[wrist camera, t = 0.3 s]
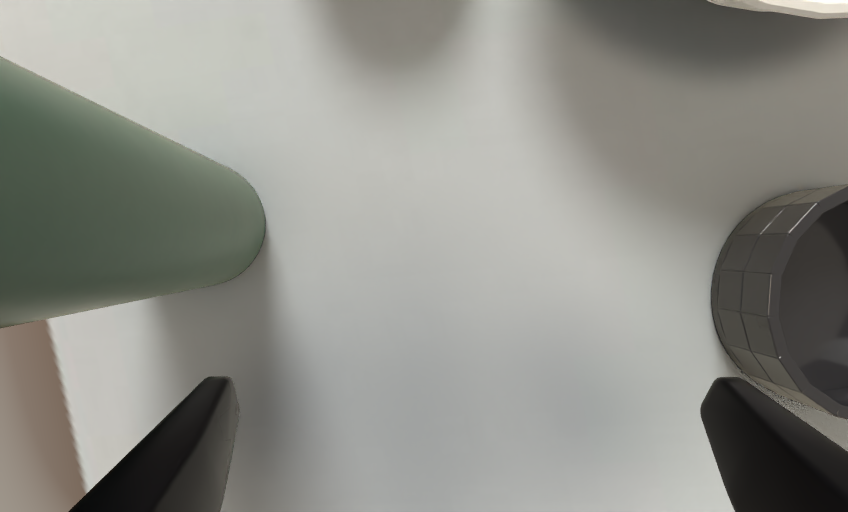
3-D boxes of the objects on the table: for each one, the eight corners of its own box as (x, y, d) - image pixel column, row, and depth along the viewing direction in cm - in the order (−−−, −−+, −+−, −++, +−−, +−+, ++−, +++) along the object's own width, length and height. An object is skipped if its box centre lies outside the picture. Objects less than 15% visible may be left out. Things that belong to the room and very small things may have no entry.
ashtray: (940, 340, 23) (1036, 356, 20) (762, 434, 23) (828, 467, 19) (858, 155, 23) (941, 139, 20) (675, 247, 23) (727, 247, 19)
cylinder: (286, 252, 22) (-108, 267, 5) (174, 306, 21) (-680, 534, 4) (231, 141, 21) (-397, -274, 4) (117, 195, 21) (-1016, -25, 4)
